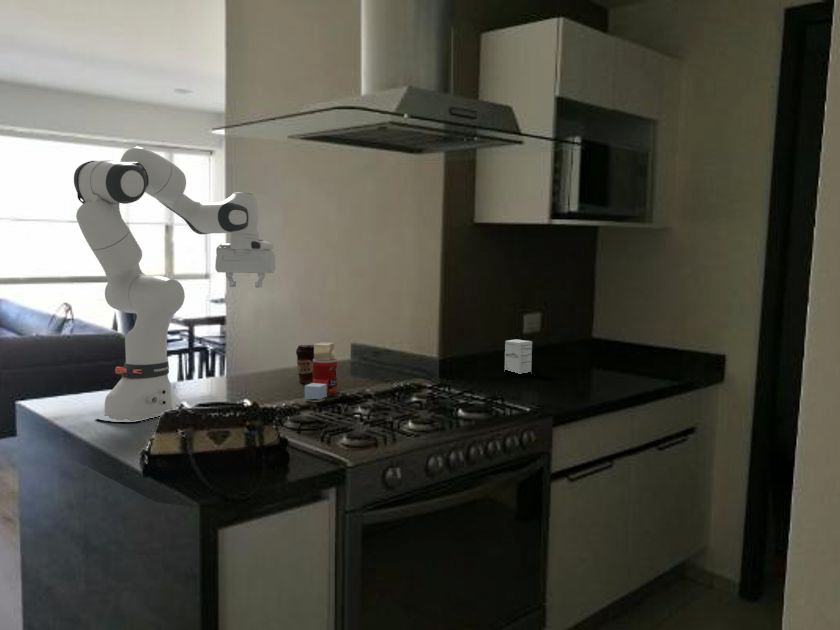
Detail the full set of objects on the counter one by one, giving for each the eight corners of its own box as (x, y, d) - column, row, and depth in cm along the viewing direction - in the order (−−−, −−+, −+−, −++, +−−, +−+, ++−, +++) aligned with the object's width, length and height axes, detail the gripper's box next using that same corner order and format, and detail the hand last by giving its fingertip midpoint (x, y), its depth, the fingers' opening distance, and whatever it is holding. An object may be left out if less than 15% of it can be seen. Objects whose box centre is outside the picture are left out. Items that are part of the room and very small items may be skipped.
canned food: (333, 395, 240) (333, 361, 239) (309, 394, 242) (309, 360, 241) (340, 390, 247) (340, 357, 246) (317, 389, 249) (317, 356, 248)
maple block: (328, 360, 240) (328, 345, 240) (314, 359, 242) (313, 344, 241) (334, 358, 245) (334, 343, 245) (320, 357, 247) (320, 342, 246)
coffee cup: (313, 385, 256) (312, 347, 255) (291, 383, 259) (291, 346, 258) (324, 381, 264) (324, 344, 263) (303, 379, 267) (303, 343, 266)
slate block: (319, 403, 228) (319, 386, 228) (304, 402, 230) (304, 385, 229) (326, 399, 233) (326, 384, 232) (312, 398, 234) (311, 383, 234)
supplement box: (503, 374, 280) (504, 340, 279) (516, 371, 285) (517, 338, 284) (519, 376, 275) (519, 342, 274) (532, 374, 280) (532, 340, 279)
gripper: (210, 243, 240) (211, 287, 241) (267, 243, 234) (268, 288, 235) (221, 243, 246) (222, 286, 247) (277, 244, 240) (278, 287, 241)
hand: (245, 287), depth 241 cm, fingers open, 8 cm apart
